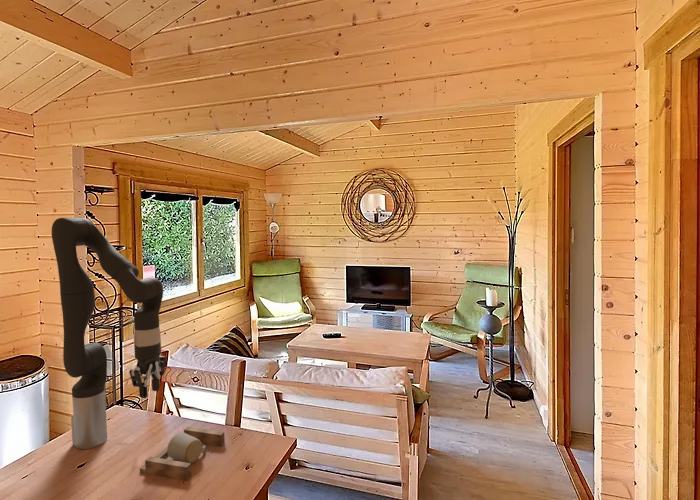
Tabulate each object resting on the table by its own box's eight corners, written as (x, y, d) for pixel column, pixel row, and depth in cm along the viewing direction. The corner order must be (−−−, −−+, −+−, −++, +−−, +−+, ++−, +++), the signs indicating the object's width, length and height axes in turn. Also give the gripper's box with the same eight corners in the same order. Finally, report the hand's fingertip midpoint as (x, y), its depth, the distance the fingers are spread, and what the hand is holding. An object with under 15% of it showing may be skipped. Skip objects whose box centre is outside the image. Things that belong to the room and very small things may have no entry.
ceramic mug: (186, 469, 123) (185, 444, 123) (166, 462, 127) (166, 438, 126) (212, 451, 133) (211, 428, 132) (193, 445, 136) (192, 423, 136)
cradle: (139, 472, 122) (139, 459, 122) (182, 437, 141) (182, 426, 141) (187, 480, 118) (186, 467, 118) (224, 443, 137) (224, 432, 137)
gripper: (153, 334, 137) (155, 384, 139) (119, 347, 124) (122, 402, 125) (172, 336, 136) (174, 386, 137) (141, 349, 122) (143, 405, 123)
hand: (149, 393), depth 131 cm, fingers open, 4 cm apart
